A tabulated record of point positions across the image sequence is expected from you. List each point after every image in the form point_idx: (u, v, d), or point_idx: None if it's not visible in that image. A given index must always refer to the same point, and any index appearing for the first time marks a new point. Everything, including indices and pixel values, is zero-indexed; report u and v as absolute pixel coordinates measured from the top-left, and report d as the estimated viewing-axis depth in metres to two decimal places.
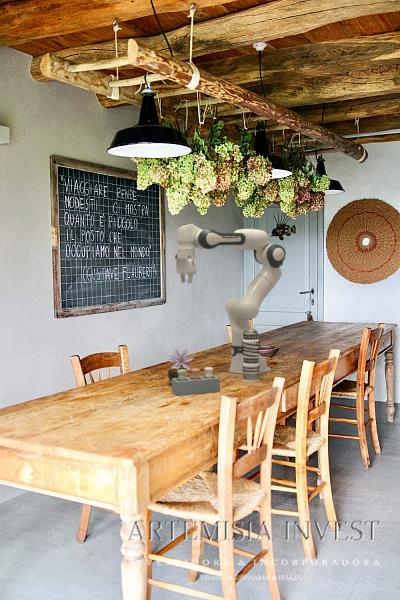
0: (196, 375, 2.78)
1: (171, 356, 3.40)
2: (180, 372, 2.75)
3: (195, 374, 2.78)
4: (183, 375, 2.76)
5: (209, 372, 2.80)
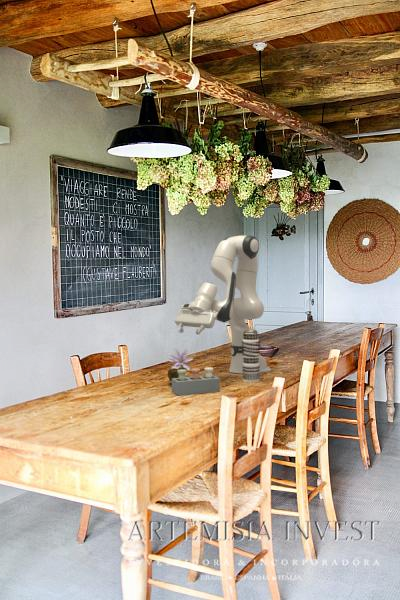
0: (196, 375, 2.78)
1: (171, 356, 3.40)
2: (180, 372, 2.75)
3: (195, 374, 2.78)
4: (183, 375, 2.76)
5: (209, 372, 2.80)
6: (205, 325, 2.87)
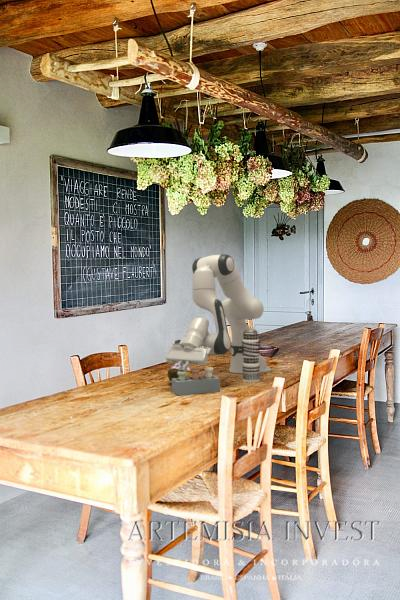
0: (196, 375, 2.78)
1: None
2: (180, 374, 2.75)
3: (195, 374, 2.78)
4: (183, 377, 2.76)
5: (209, 372, 2.80)
6: (198, 362, 2.76)
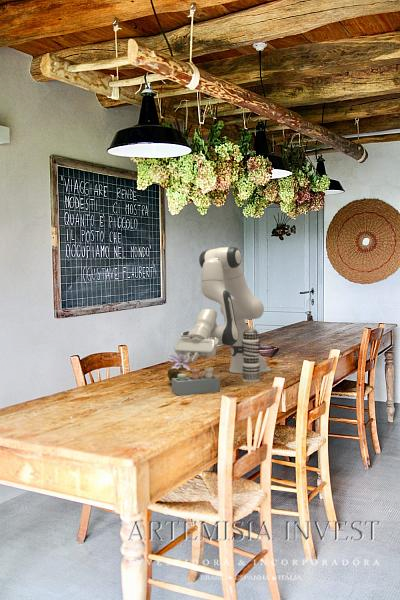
0: (196, 375, 2.78)
1: (171, 356, 3.40)
2: (180, 376, 2.75)
3: (195, 374, 2.78)
4: (183, 379, 2.76)
5: (209, 372, 2.80)
6: (207, 353, 2.77)
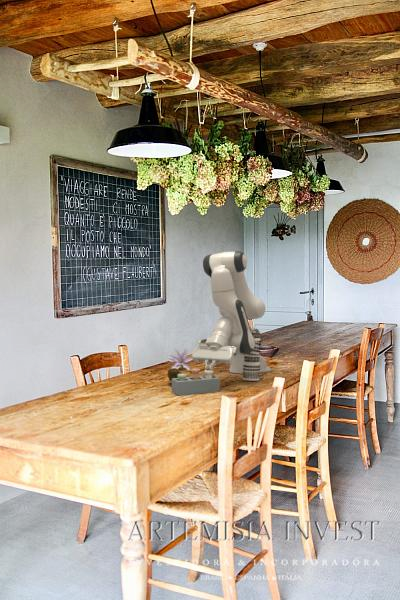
0: (196, 375, 2.78)
1: (171, 356, 3.40)
2: (180, 376, 2.75)
3: (195, 374, 2.78)
4: (183, 379, 2.76)
5: (209, 375, 2.80)
6: (225, 361, 2.80)
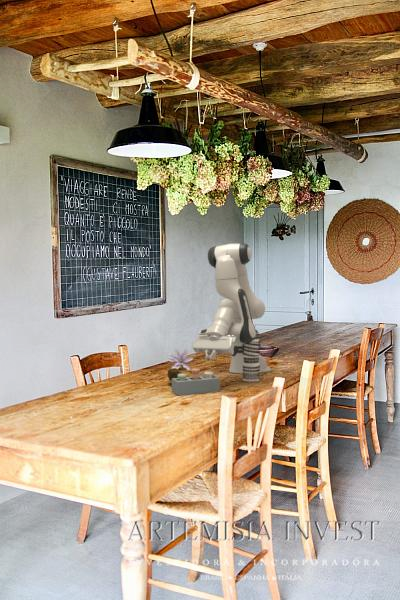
0: (196, 375, 2.78)
1: (171, 356, 3.40)
2: (180, 376, 2.75)
3: (195, 374, 2.78)
4: (183, 379, 2.76)
5: (209, 376, 2.80)
6: (225, 350, 2.80)
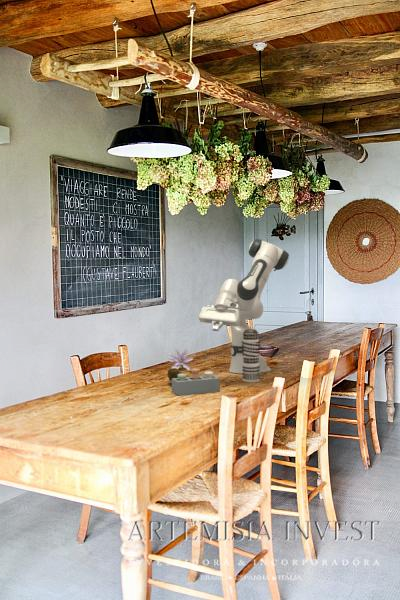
0: (196, 375, 2.78)
1: (171, 356, 3.40)
2: (180, 376, 2.75)
3: (195, 374, 2.78)
4: (183, 379, 2.76)
5: (209, 376, 2.80)
6: (203, 321, 2.96)
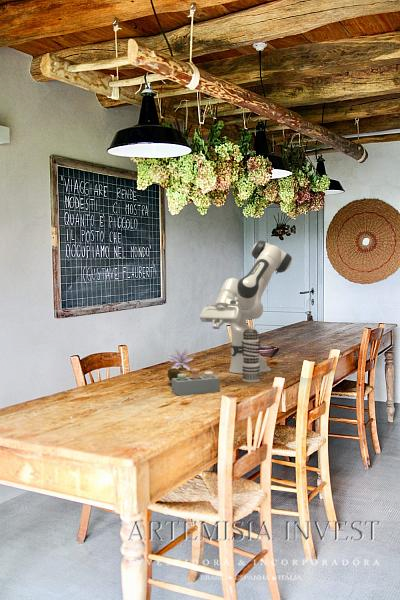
0: (196, 375, 2.78)
1: (171, 356, 3.40)
2: (180, 376, 2.75)
3: (195, 374, 2.78)
4: (183, 379, 2.76)
5: (209, 376, 2.80)
6: (205, 320, 2.97)
